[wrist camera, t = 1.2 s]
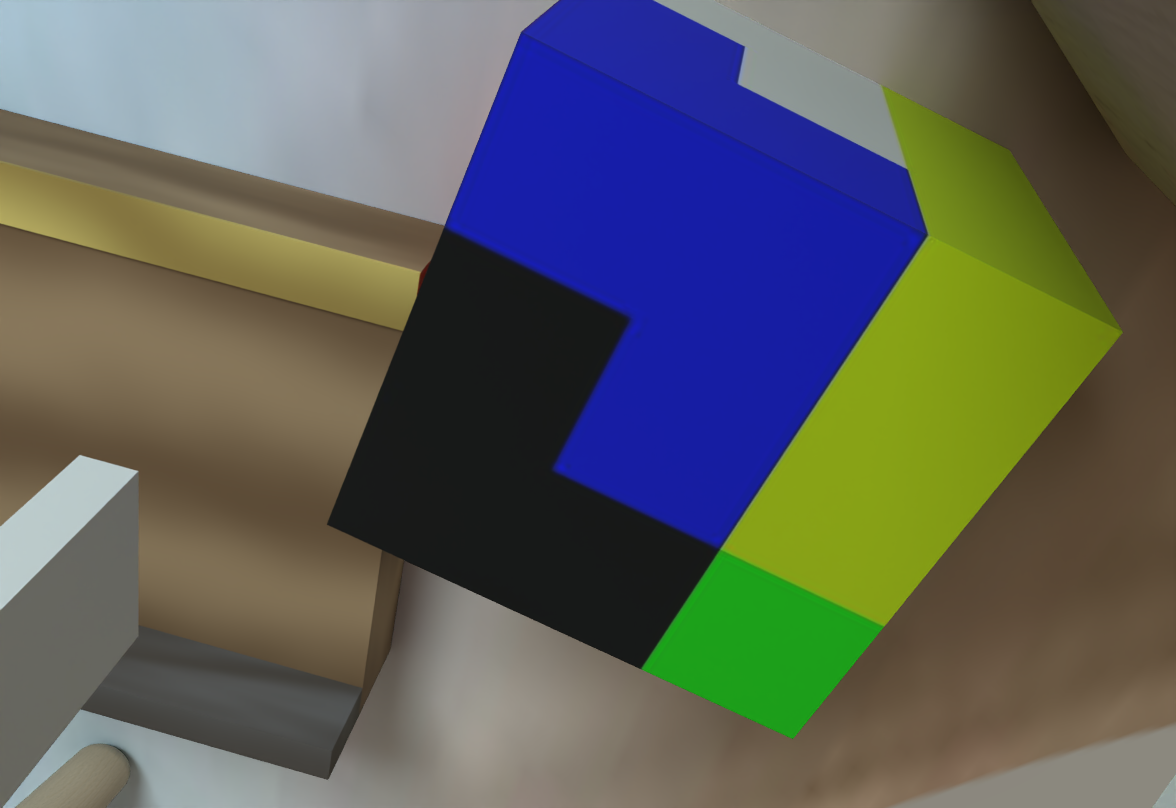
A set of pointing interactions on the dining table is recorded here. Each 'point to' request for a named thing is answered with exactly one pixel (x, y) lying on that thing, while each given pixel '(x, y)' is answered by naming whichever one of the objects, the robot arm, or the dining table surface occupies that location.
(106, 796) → the planter
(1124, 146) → the wooden block
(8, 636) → the robot arm
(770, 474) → the puzzle toy
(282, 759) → the dock
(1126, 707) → the dining table surface
